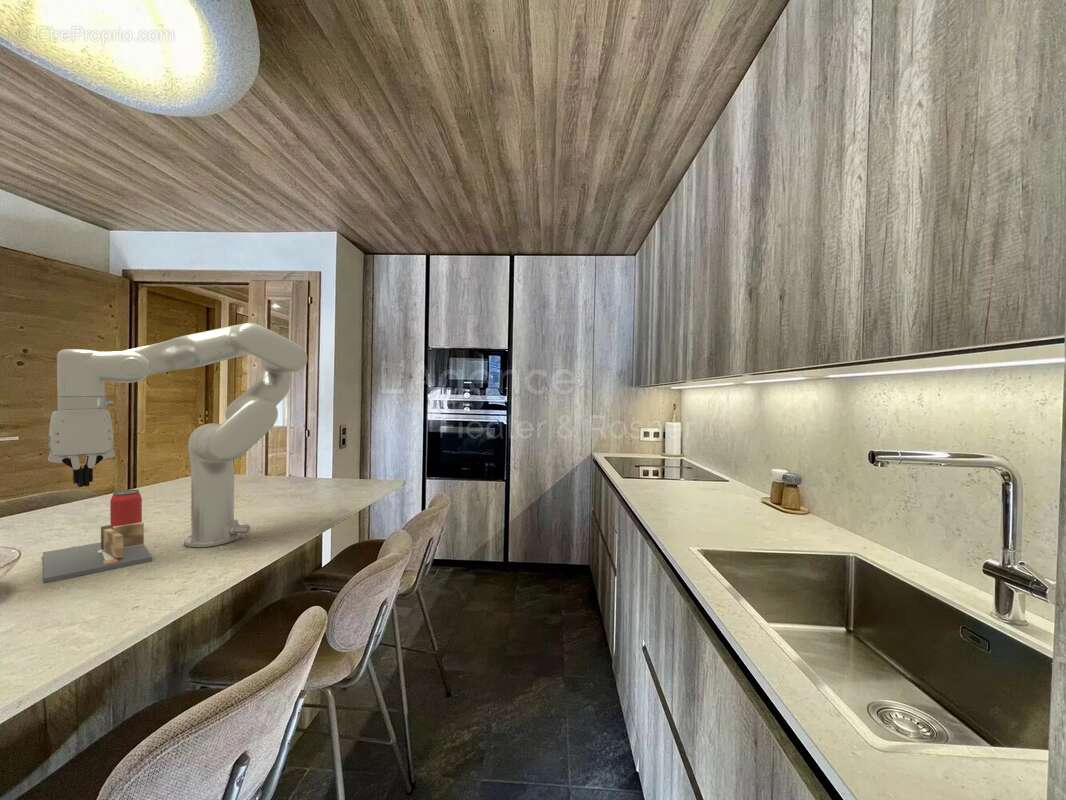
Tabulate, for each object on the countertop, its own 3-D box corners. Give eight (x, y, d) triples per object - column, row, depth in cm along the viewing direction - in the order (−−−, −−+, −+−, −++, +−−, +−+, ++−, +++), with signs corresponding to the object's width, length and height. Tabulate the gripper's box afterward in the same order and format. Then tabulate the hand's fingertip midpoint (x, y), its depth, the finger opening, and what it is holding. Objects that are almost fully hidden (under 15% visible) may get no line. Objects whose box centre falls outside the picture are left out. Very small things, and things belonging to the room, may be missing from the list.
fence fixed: (143, 543, 117) (142, 522, 117) (143, 544, 116) (143, 522, 116) (113, 548, 113) (112, 526, 113) (113, 549, 112) (113, 527, 112)
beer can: (127, 538, 124) (127, 494, 123) (103, 537, 124) (103, 494, 124) (148, 530, 130) (148, 489, 130) (125, 530, 130) (125, 488, 130)
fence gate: (100, 548, 111) (99, 526, 111) (109, 546, 113) (109, 524, 113) (114, 558, 105) (114, 535, 105) (124, 556, 106) (124, 533, 106)
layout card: (138, 539, 123) (138, 535, 123) (152, 560, 108) (151, 556, 108) (43, 556, 110) (42, 551, 110) (43, 583, 95) (43, 577, 95)
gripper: (122, 403, 110) (122, 478, 110) (30, 405, 98) (31, 489, 99) (129, 404, 105) (130, 482, 106) (34, 406, 94) (36, 494, 94)
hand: (83, 485), depth 102 cm, fingers closed
